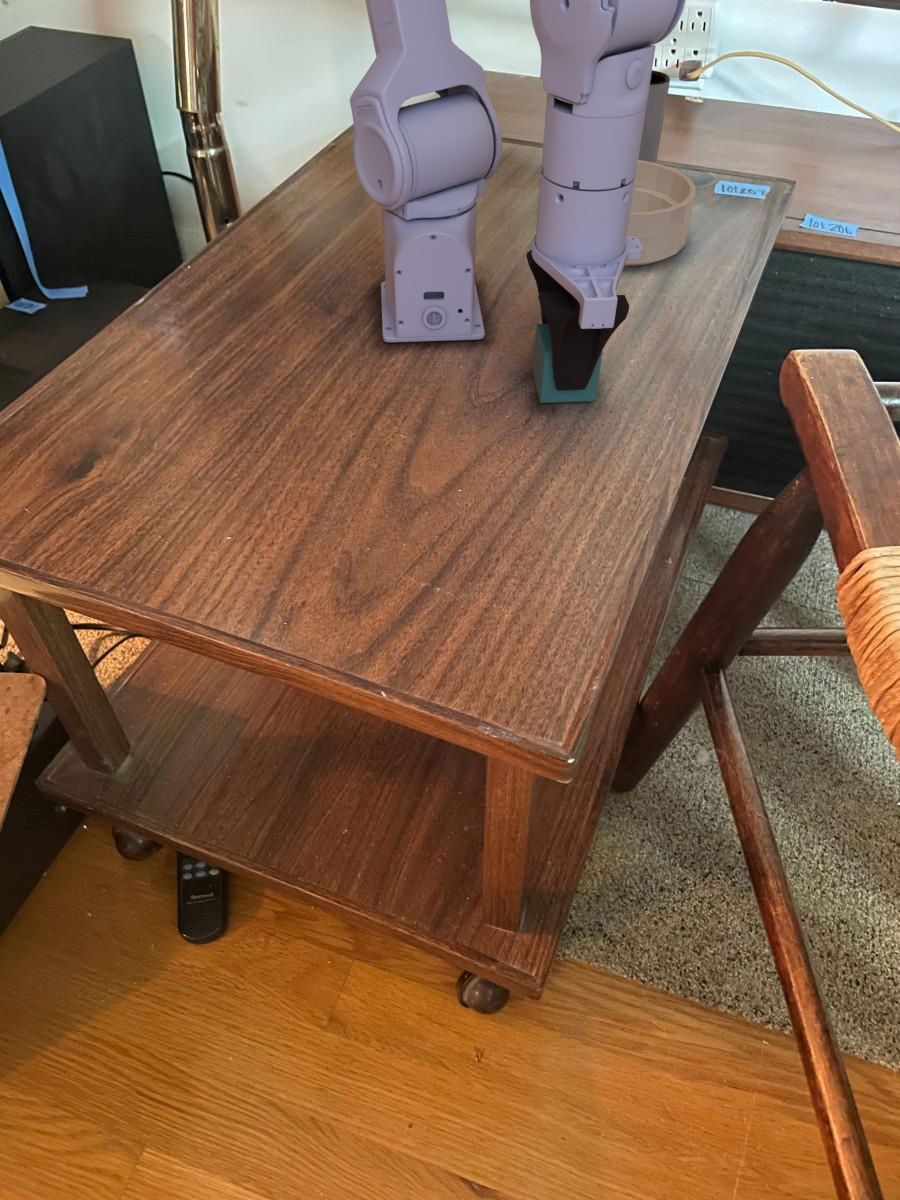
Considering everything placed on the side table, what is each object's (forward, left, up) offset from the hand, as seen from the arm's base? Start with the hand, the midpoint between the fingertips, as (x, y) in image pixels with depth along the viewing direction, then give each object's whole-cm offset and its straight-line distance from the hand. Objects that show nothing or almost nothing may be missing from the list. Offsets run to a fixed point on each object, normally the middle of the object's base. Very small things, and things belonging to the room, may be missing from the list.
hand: (565, 370), depth 63 cm
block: (0, 0, -1) cm, 1 cm away
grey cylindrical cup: (+36, -13, -2) cm, 39 cm away
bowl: (+25, -9, -2) cm, 27 cm away
